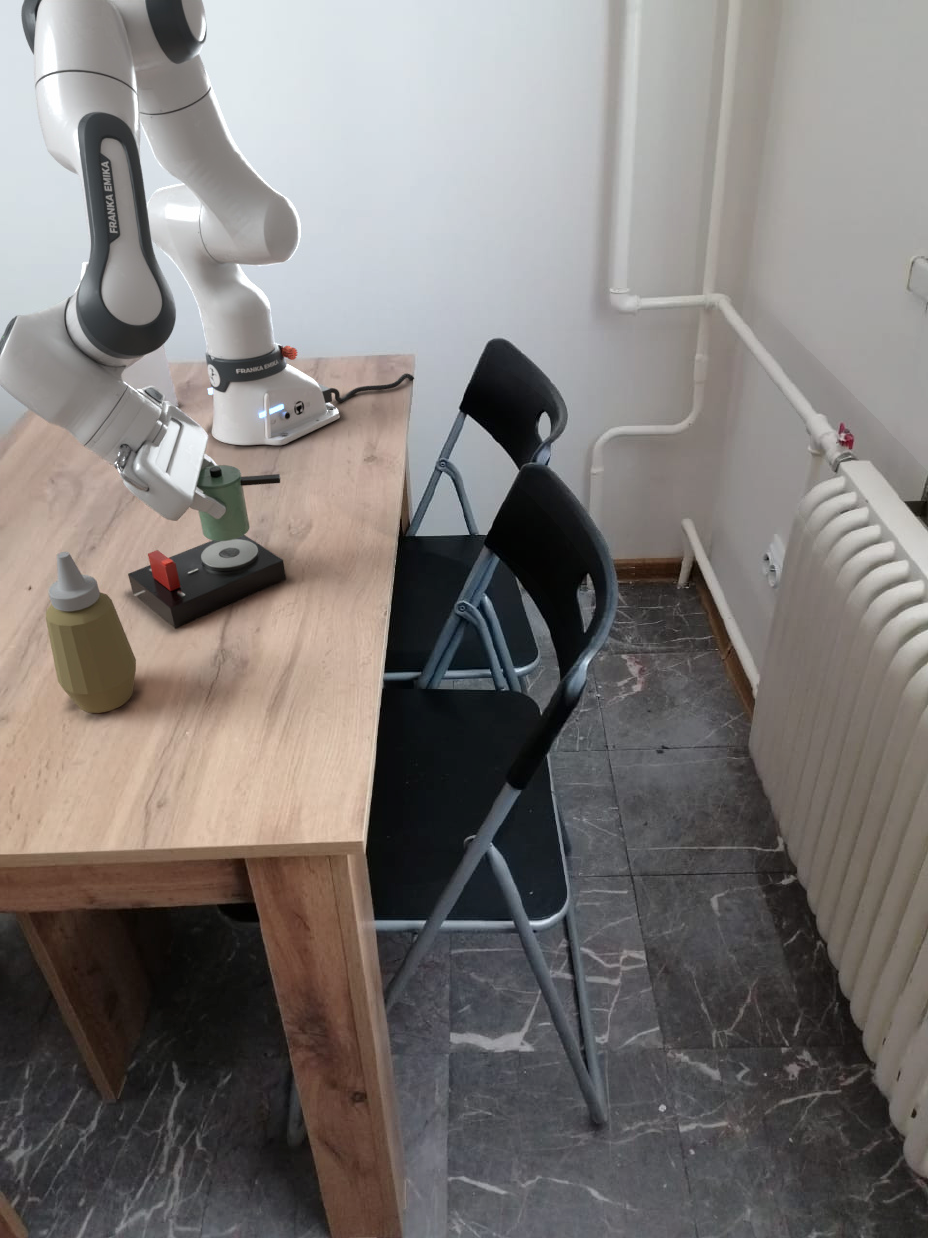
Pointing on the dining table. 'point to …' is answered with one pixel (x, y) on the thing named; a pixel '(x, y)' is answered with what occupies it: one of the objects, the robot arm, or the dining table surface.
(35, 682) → the dining table surface
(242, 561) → the burner
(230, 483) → the saucepan
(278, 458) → the dining table surface
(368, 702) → the dining table surface
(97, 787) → the dining table surface
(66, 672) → the squeeze bottle
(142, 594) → the hob
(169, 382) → the milk
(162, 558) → the knob
